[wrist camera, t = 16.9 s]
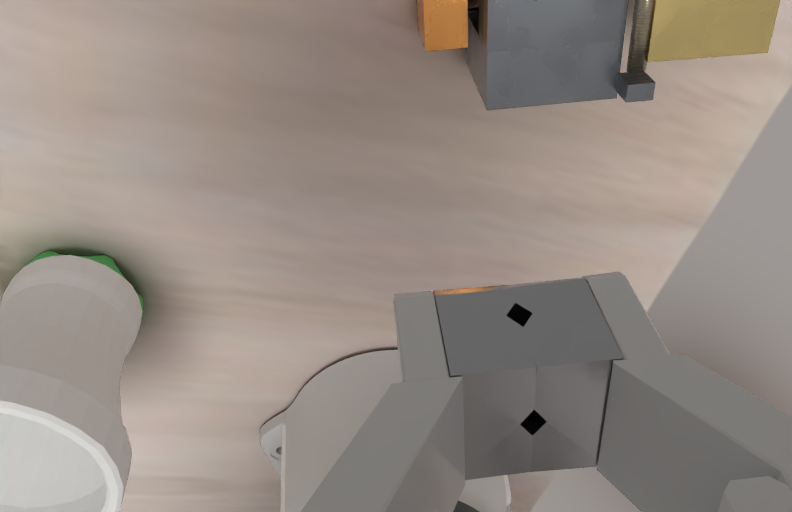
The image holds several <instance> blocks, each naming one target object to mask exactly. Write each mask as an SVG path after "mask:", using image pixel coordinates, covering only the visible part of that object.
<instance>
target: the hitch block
mask: <svg viewBox="0 0 792 512" xmlns="http://www.w3.org/2000/svg"><path fill="white" fill-rule="evenodd" d="M627 7H628V0H479V10H476V11H468V48H466V57H467V66H468V68H469V70H470V72H471V75H472V77H473V79H474V82H475V84H476V86H477V89H478V91H479V93H480V95H481V98H482V100H483V102H484V105H485V107H486V109H487V110H494V109H505V108H516V107H527V106H537V105H548V104H559V103H570V102H580V101H591V100H602V99H613V98H617V93H618V94H619V95H620V96H621V97H622V99H623V100H624V101H625V102H635V101H646V100H653V94H654V88H655V82H654V81H653V80H652V79H651V78H650V77H649V76H648V75H647V74H646V73H645V72H644V73H641V74H632V73H629V72H625V73H620V66H621V57H622V49H623V40H624V32H625V24H626V15H627Z"/></svg>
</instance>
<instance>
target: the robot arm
mask: <svg viewBox="0 0 792 512" xmlns="http://www.w3.org/2000/svg"><path fill="white" fill-rule="evenodd" d="M394 311H395V322H396V333H397V345H398V350H384V351H375V352H369V353H364V354H360V355H357V356H353V357H350V358H347V359H345V360H342V361H340V362H337V363H335V364H333V365H331V366H330V367H328V368H326V369H325V370H323V371H322V372H320V373H319V374H317V375H316V376H315V377H314V378H312V379H311V380H310V381H309V382H308V383H307V384H306V385H305V386H304V387H303V389H302V390H301V391H300V393H299V394H298V396H297V397H296V399H295V400H294V402H293V403H292V404H291V406H290V407H289V408H288V409H287V410H285V411H284V412H282V413H280V414H279V415H277V416H275V417H274V418H272V419H271V420H269V421H268V422H267V423H265V424H264V425H263V426H262V427H261V429H260V444H261V447H262V448H263V450H264V452H265V453H266V455H267V457H268V459H269V460H270V462H271V464H272V465H273V467H274V469H275V471H276V472H277V474H278V476H279V477H280V479H281V512H510V503H511V491H510V485H509V480H508V475H509V474H517V473H524V472H534V471H546V470H559V469H571V468H584V467H597V470H598V471H599V472H600V473H601V474H602V475H603V476H604V477H606V479H607V480H609V481H610V482H611V483H612V484H613V485H614V486H615V487H616V488H617V489H618V490H619V491H620V492H621V493H623V495H625V496H626V497H627V498H628V499H629V500H630V501H631V502H632V503H633V504H634V505H635V506H636V507H637V508H638V509H639V510H640V511H642V512H792V417H791V416H789V415H787V414H786V413H784V412H782V411H781V410H779V409H777V408H775V407H774V406H772V405H770V404H768V403H767V402H765V401H763V400H761V399H760V398H757V397H756V396H754V395H753V394H751V393H749V392H747V391H746V390H744V389H742V388H741V387H739V386H737V385H735V384H734V383H732V382H730V381H728V380H727V379H725V378H723V377H721V376H720V375H718V374H716V373H714V372H713V371H711V370H709V369H707V368H706V367H704V366H702V365H700V364H699V363H697V362H695V361H693V360H692V359H690V358H688V357H687V356H685V355H683V354H677V355H670V353H669V351H668V350H667V348H666V346H665V344H664V343H663V341H662V339H661V337H660V336H659V334H658V332H657V330H656V329H655V327H654V325H653V323H652V322H651V320H650V318H649V316H648V315H647V313H646V311H645V309H644V308H643V306H642V304H641V302H640V301H639V299H638V297H637V295H636V294H635V292H634V290H633V288H632V287H631V285H630V283H629V281H628V280H627V278H626V276H625V275H623V274H622V273H620V272H614V273H606V274H598V275H590V276H582V277H581V278H573V279H564V280H554V281H545V282H535V283H525V284H516V285H501V286H488V287H475V288H462V289H449V290H436V291H433V294H432V292H431V291H428V292H417V293H405V294H394Z"/></svg>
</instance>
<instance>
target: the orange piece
mask: <svg viewBox="0 0 792 512" xmlns="http://www.w3.org/2000/svg"><path fill="white" fill-rule="evenodd" d="M476 7H479V0H417V14H418V29H419V33H420V36H421V39H422V42H423V45H424V48H425V51H435V50H446V49H457V48H468V8H476Z"/></svg>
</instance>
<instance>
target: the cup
mask: <svg viewBox="0 0 792 512" xmlns="http://www.w3.org/2000/svg"><path fill="white" fill-rule="evenodd" d="M143 306H144V305H143V297H142V296H141V295H139V294H138V293H137V292H136V291H135V290H134V288H133V286H132V285H131V284H130V283H129V282H128V281H127V280H126V278H125V277H124V276H123V274H122V273H121V272H120V270H119V268H118V267H117V266H116V264H115V263H114V261H113V259H112V258H110V257H108V256H106V255H99V256H92V257H88V256H73V255H61V254H58V253H56V252H52V251H46V252H43V253H41V254H39V255H38V256H36V257H35V258H34V259H33V260H31V261H30V262H29V263H28V264H27V265H26V266H25V267H23V268H22V269H21V270H20V271H19V272H18V273H17V274H16V275H15V276H14V277H13V278H12V280H11V282H10V283H9V285H8V287H7V288H6V290H5V292H4V295H3V298H2V301H1V304H0V512H118V511H119V509H120V507H121V504H122V500H123V496H124V492H125V488H126V484H127V480H128V476H129V471H130V464H131V457H132V449H131V445H130V442H129V438H128V435H127V431H126V428H125V427H124V425H123V422H122V417H121V403H120V378H121V372H122V368H123V364H124V361H125V357H126V355H127V354H128V353H129V352H130V350H131V348H132V346H133V344H134V342H135V340H136V337H137V334H138V331H139V328H140V325H141V319H142V315H143Z"/></svg>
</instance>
